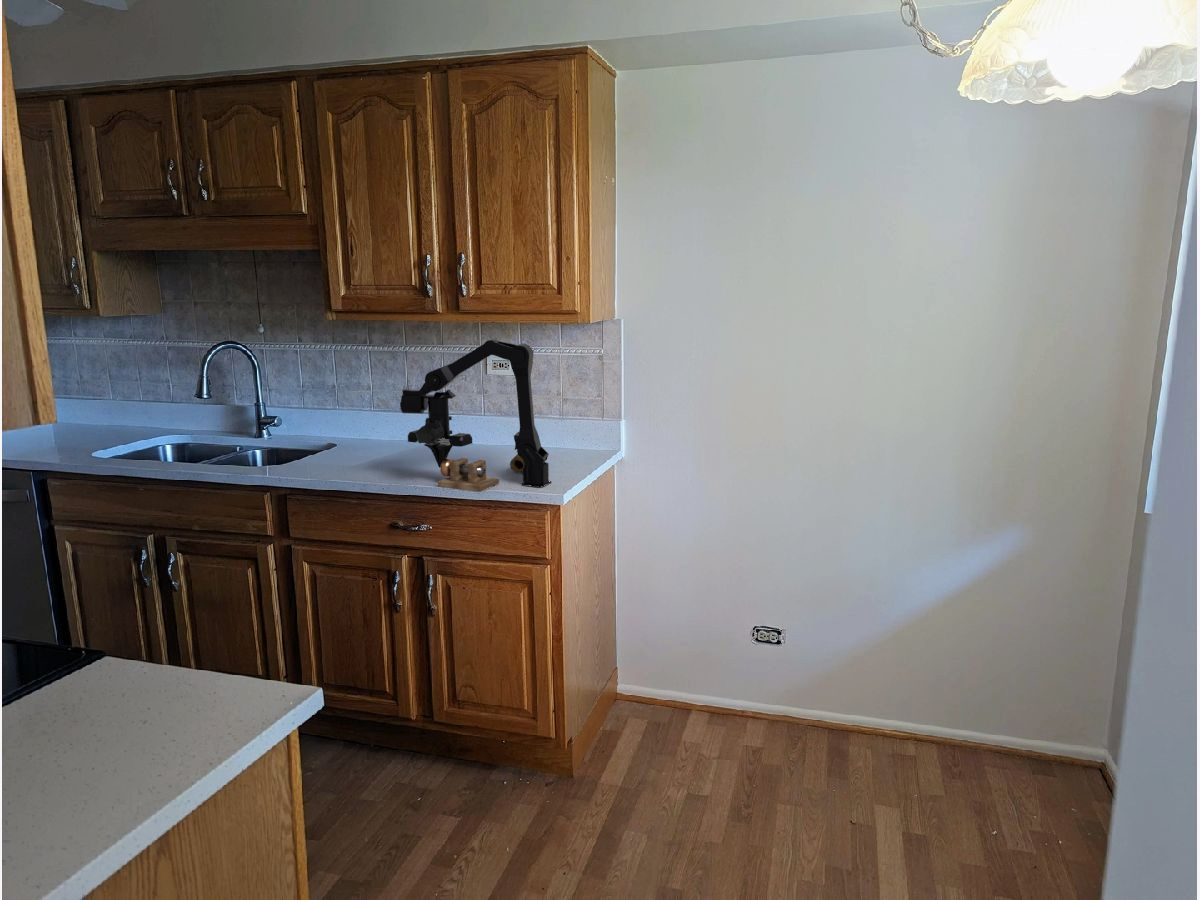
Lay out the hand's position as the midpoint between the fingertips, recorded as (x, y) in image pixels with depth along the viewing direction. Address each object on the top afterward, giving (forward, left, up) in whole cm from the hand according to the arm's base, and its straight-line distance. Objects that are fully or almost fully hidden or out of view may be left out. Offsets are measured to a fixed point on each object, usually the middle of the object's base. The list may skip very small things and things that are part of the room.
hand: (440, 467), depth 246 cm
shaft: (-8, 0, -2) cm, 8 cm away
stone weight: (-15, -25, -5) cm, 29 cm away
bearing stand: (-9, 0, -4) cm, 10 cm away
